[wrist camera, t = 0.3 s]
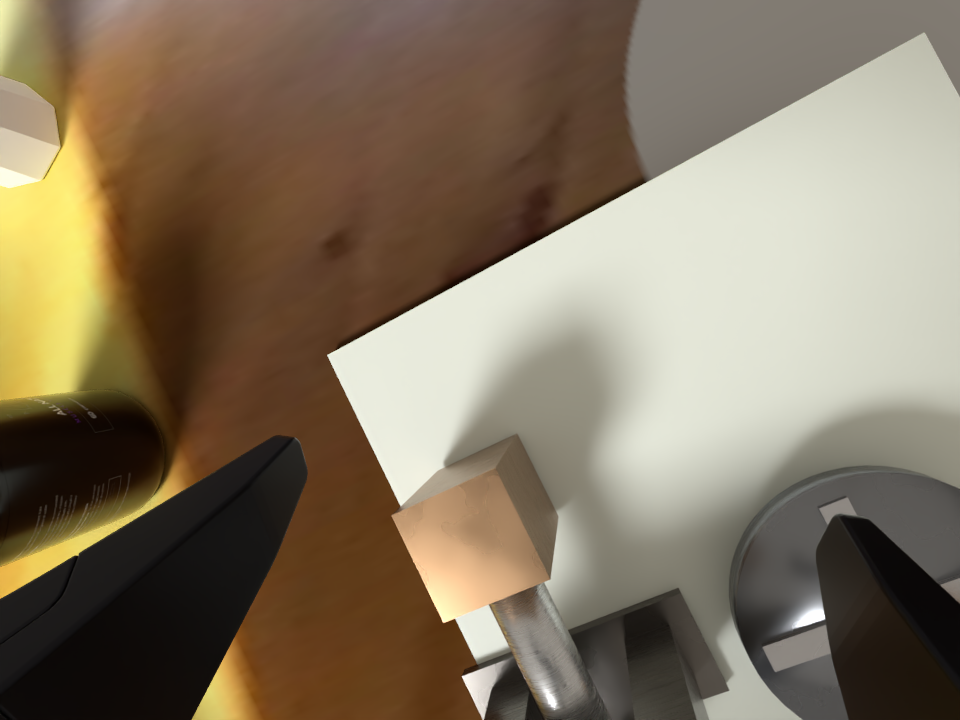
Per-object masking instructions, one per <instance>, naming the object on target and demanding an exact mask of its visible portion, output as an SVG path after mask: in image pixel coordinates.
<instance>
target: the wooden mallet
mask: <svg viewBox="0 0 960 720" xmlns="http://www.w3.org/2000/svg"><path fill="white" fill-rule="evenodd" d="M391 516H392V518H393V520H394V522H395V524H396V526H397V528H398V530H399V532H400V534H401V536H402V538H403V540H404V542H405V544H406V547H407V549H408V551H409V553H410V555H411V557H412V559H413V561H414V563H415V565H416V567H417V569H418V571H419V573H420V575H421V577H422V579H423V582H424V584H425V586H426V588H427V590H428V592H429V594H430V596H431V598H432V600H433V602H434V604H435V606H436V608H437V610H438V612H439V614H440V617H441V619H442V621H443V623H444V622H447V621H449V620H452V619H454V618H457V617H459V616H462V615H464V614H467V613H469V612H471V611H474V610H476V609H479V608H481V607H484V606H486V605H489V607H490V609H491V611H492V613H493V615H494V617H495V619H496V621H497V623H498V625H499V627H500V629H501V631H502V633H503V635H504V637H505V639H506V641H507V643H508V645H509V648H510V650H511V652H512V654H513V656H514V658H515V660H516V662H517V664H518V666H519V668H520V670H521V672H522V674H523V676H524V678H525V680H526V682H527V684H528V686H529V688H530V690H531V692H532V695H533V697H534V699H535V701H536V703H537V705H538V707H539V709H540V711H541V713H542V715H543V717H544V719H545V720H612V718H611V716H610V714H609V712H608V710H607V708H606V706H605V704H604V702H603V700H602V698H601V696H600V694H599V692H598V690H597V688H596V686H595V684H594V682H593V680H592V678H591V676H590V674H589V672H588V670H587V668H586V666H585V664H584V662H583V660H582V658H581V656H580V654H579V652H578V650H577V648H576V646H575V644H574V642H573V640H572V638H571V635H570V633H569V631H568V629H567V627H566V625H565V623H564V621H563V619H562V617H561V615H560V613H559V611H558V609H557V607H556V605H555V603H554V601H553V599H552V597H551V595H550V593H549V591H548V589H547V587H546V585H545V583H544V582H545V581H548V580H550V579H551V571H552V563H553V556H554V548H555V541H556V533H557V526H558V518H559V516H558V514H557V512H556V510H555V508H554V506H553V504H552V502H551V500H550V498H549V496H548V494H547V492H546V490H545V488H544V486H543V484H542V482H541V480H540V478H539V476H538V474H537V472H536V470H535V468H534V466H533V464H532V462H531V460H530V458H529V456H528V454H527V452H526V450H525V448H524V446H523V444H522V442H521V440H520V438H519V436H518V434H515V435H512V436H510V437H508V438H506V439H504V440H502V441H500V442H497V443H495V444H493V445H491V446H489V447H487V448H485V449H483V450H480V451H478V452H476V453H474V454H472V455H470V456H468V457H465V458H463V459H461V460H459V461H457V462H455V463H453V464H451V465H448V466H446V467H444V468H442V469H440V470H438V471H437V472H436V473H435V474H434V475H433V476H432V477H431V478H430V479H429V480H428V481H427V482H425V483H424V484H423V485H422V486H421V487H420V488H419V489H418V490H417V491H416V492H415V493H414V494H413V495H412V496H411V497H410V498H409V499H408V500H407V501H406V502H405V503H404V504H403V505H402V506H401V507H400V508H399V509H398V510H397V511H396V512H395V513H394V514H392V515H391Z"/></svg>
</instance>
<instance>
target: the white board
mask: <svg viewBox="0 0 960 720" xmlns="http://www.w3.org/2000/svg"><path fill="white" fill-rule="evenodd" d="M327 356H328V358H329V360H330V362H331V364H332V366H333V368H334V370H335V372H336V374H337V376H338V378H339V380H340V383H341V385H342V387H343V389H344V391H345V393H346V395H347V397H348V399H349V401H350V403H351V405H352V407H353V409H354V411H355V413H356V415H357V417H358V420H359V422H360V424H361V426H362V428H363V430H364V432H365V434H366V436H367V438H368V440H369V442H370V444H371V446H372V448H373V450H374V452H375V454H376V457H377V459H378V461H379V463H380V465H381V467H382V469H383V471H384V473H385V475H386V477H387V479H388V481H389V483H390V485H391V487H392V489H393V491H394V493H395V496H396V498H397V500H398V502H399V504H400V506H402V505H403V504H404V503H405V502H406V501H407V500H408V499H409V498H410V497H411V496H412V495H413V494H414V493H415V492H416V491H417V490H418V489H419V488H420V487H421V486H422V485H423V484H424V483H425V482H427V481H428V480H429V479H430V478H431V477H432V476H433V475H434V474H435V473H436V472H437V471H438V470H440V469H442V468H444V467H446V466H448V465H451V464H453V463H455V462H457V461H459V460H461V459H463V458H465V457H468V456H470V455H472V454H474V453H476V452H478V451H480V450H483V449H485V448H487V447H489V446H491V445H493V444H495V443H497V442H500V441H502V440H504V439H506V438H508V437H510V436H512V435H515V434H518V436H519V438H520V440H521V442H522V444H523V446H524V448H525V450H526V452H527V454H528V456H529V458H530V460H531V462H532V464H533V466H534V468H535V470H536V472H537V474H538V476H539V478H540V480H541V482H542V484H543V486H544V488H545V490H546V492H547V494H548V496H549V498H550V500H551V502H552V504H553V506H554V508H555V510H556V512H557V514H558V516H559V518H558V526H557V533H556V541H555V548H554V556H553V563H552V571H551V579H550V580H548V581H545V582H544V583H545V585H546V587H547V589H548V591H549V593H550V595H551V597H552V599H553V601H554V603H555V605H556V607H557V609H558V611H559V613H560V615H561V617H562V619H563V621H564V623H565V625H566V627H567V629H568V630H569V629H572V628H574V627H577V626H580V625H582V624H585V623H587V622H590V621H593V620H595V619H598V618H600V617H603V616H606V615H608V614H611V613H614V612H616V611H619V610H621V609H624V608H627V607H629V606H632V605H634V604H637V603H640V602H642V601H645V600H648V599H650V598H653V597H655V596H658V595H661V594H663V593H666V592H668V591H671V590H674V589H676V588H679V590H680V592H681V594H682V596H683V598H684V600H685V602H686V603H687V605H688V607H689V609H690V611H691V613H692V615H693V617H694V619H695V621H696V623H697V625H698V627H699V629H700V631H701V633H702V635H703V637H704V639H705V641H706V643H707V645H708V647H709V649H710V651H711V653H712V655H713V657H714V659H715V661H716V663H717V665H718V667H719V669H720V671H721V673H722V675H723V677H724V679H725V681H726V683H727V685H728V688H729V690H730V691H727V692H724V693H721V694H718V695H715V696H712V697H709V698H707V699H704V700H703V702H704V705H705V708H706V711H707V714H708V718H709V720H803V719H801V718H800V717H798V716H797V715H796V714H795V713H793V712H792V711H791V710H790V709H788V708H787V707H786V706H785V705H784V704H783V703H782V702H781V701H780V700H779V699H778V698H777V697H776V696H775V695H774V694H773V693H772V692H771V691H770V689H769V688H768V687H767V686H766V684H765V683H764V682H763V680H762V679H761V678H760V676H759V674H758V673H757V671H756V669H755V668H754V666H753V664H752V663H751V661H750V659H749V657H748V655H747V653H746V651H745V649H744V647H743V645H742V643H741V640H740V638H739V636H738V633H737V631H736V629H735V625H734V622H733V618H732V614H731V610H730V602H729V575H730V569H731V563H732V560H733V556H734V553H735V550H736V547H737V545H738V543H739V541H740V539H741V537H742V535H743V532H744V531H745V530H746V528H747V527H748V525H749V524H750V522H751V521H752V519H753V518H754V517H755V516H756V514H757V513H758V512H759V511H760V510H761V509H762V508H763V507H764V506H765V505H766V504H767V503H768V502H769V501H770V500H772V499H773V498H774V497H775V496H776V495H778V494H779V493H781V492H782V491H784V490H785V489H787V488H788V487H790V486H791V485H793V484H795V483H797V482H799V481H802V480H804V479H806V478H808V477H810V476H813V475H816V474H819V473H822V472H825V471H829V470H834V469H839V468H843V467H852V466H864V465H869V466H888V467H895V468H902V469H907V470H911V471H914V472H918V473H922V474H925V475H928V476H930V477H933V478H935V479H938V480H940V481H943V482H945V483H948V484H950V485H952V486H955V487H957V488H959V489H960V96H959V95H958V93H957V91H956V89H955V87H954V85H953V84H952V82H951V80H950V78H949V76H948V74H947V72H946V71H945V69H944V67H943V65H942V63H941V61H940V60H939V58H938V56H937V54H936V53H935V50H934V48H933V47H932V45H931V43H930V41H929V39H928V37H927V35H926V34H925V32H924V33H922V34H920V35H918V36H916V37H915V38H913V39H911V40H909V41H907V42H906V43H904V44H902V45H900V46H898V47H896V48H894V49H892V50H891V51H889V52H887V53H885V54H883V55H881V56H879V57H878V58H876V59H874V60H872V61H870V62H868V63H866V64H865V65H863V66H861V67H859V68H857V69H856V70H854V71H852V72H850V73H848V74H846V75H844V76H842V77H841V78H839V79H837V80H835V81H833V82H831V83H830V84H828V85H826V86H824V87H822V88H820V89H818V90H817V91H815V92H813V93H811V94H809V95H807V96H806V97H804V98H802V99H800V100H798V101H796V102H794V103H793V104H791V105H789V106H787V107H785V108H783V109H782V110H780V111H778V112H776V113H774V114H772V115H770V116H769V117H767V118H765V119H763V120H761V121H759V122H757V123H756V124H754V125H752V126H750V127H748V128H746V129H745V130H743V131H741V132H739V133H737V134H735V135H733V136H732V137H730V138H728V139H726V140H724V141H722V142H720V143H719V144H717V145H715V146H713V147H711V148H709V149H708V150H706V151H704V152H702V153H700V154H698V155H696V156H695V157H693V158H691V159H689V160H687V161H685V162H683V163H682V164H680V165H678V166H676V167H674V168H673V169H671V170H669V171H667V172H665V173H663V174H661V175H660V176H658V177H656V178H654V179H652V180H650V181H648V182H646V183H645V184H643V185H641V186H639V187H637V188H635V189H634V190H632V191H630V192H628V193H626V194H624V195H622V196H621V197H619V198H617V199H615V200H613V201H611V202H610V203H608V204H606V205H604V206H602V207H600V208H598V209H597V210H595V211H593V212H591V213H589V214H587V215H585V216H584V217H582V218H580V219H578V220H576V221H574V222H573V223H571V224H569V225H567V226H565V227H563V228H561V229H560V230H558V231H556V232H554V233H552V234H550V235H549V236H547V237H545V238H543V239H541V240H539V241H537V242H536V243H534V244H532V245H530V246H528V247H526V248H524V249H523V250H521V251H519V252H517V253H515V254H513V255H512V256H510V257H508V258H506V259H504V260H502V261H500V262H499V263H497V264H495V265H493V266H491V267H489V268H488V269H486V270H484V271H482V272H480V273H478V274H476V275H475V276H473V277H471V278H469V279H467V280H465V281H463V282H462V283H460V284H458V285H456V286H454V287H452V288H451V289H449V290H447V291H445V292H443V293H441V294H439V295H438V296H436V297H434V298H432V299H430V300H428V301H427V302H425V303H423V304H421V305H419V306H417V307H415V308H414V309H412V310H410V311H408V312H406V313H404V314H402V315H401V316H399V317H397V318H395V319H393V320H391V321H390V322H388V323H386V324H384V325H382V326H380V327H378V328H377V329H375V330H373V331H371V332H369V333H367V334H366V335H364V336H362V337H360V338H358V339H356V340H354V341H353V342H351V343H349V344H347V345H345V346H343V347H341V348H340V349H338V350H336V351H334V352H332V353H330V354H329V355H327ZM455 619H456V621H457V623H458V625H459V627H460V629H461V631H462V633H463V635H464V637H465V639H466V641H467V644H468V646H469V648H470V650H471V652H472V654H473V656H474V658H475V660H476V662H477V664H480V663H483V662H486V661H488V660H491V659H493V658H496V657H499V656H501V655H504V654H506V653H509V652H511V650H510V648H509V645H508V643H507V641H506V639H505V637H504V635H503V633H502V631H501V629H500V627H499V625H498V623H497V621H496V619H495V617H494V615H493V613H492V611H491V609H490V607H489V605H486V606H484V607H481V608H479V609H476V610H474V611H471V612H469V613H467V614H464V615H462V616H459V617H457V618H455Z"/></svg>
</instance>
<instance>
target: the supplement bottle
mask: <svg viewBox="0 0 960 720" xmlns="http://www.w3.org/2000/svg"><path fill="white" fill-rule="evenodd" d="M164 463H165V453H164V444H163V440H162V437H161V433H160V431H159V428H158V426H157V424H156V422H155V421H154V419H153V418H152V416H151V415H150V413H149V412H148V411H147V410H146V409H145V408H144V407H143V406H142V405H141V404H140V403H139V402H137V401H136V400H134V399H133V398H131V397H129V396H127V395H125V394H123V393H120V392H117V391H112V390H105V389H104V390H87V391H77V392H68V393H60V394H51V395H43V396H34V397H26V398H18V399H9V400H1V401H0V567H2V566H4V565H7V564H9V563H12V562H14V561H17V560H19V559H22V558H24V557H27V556H29V555H32V554H34V553H37V552H39V551H42V550H44V549H47V548H49V547H52V546H54V545H57V544H59V543H62V542H64V541H67V540H69V539H72V538H74V537H77V536H79V535H82V534H84V533H87V532H89V531H92V530H95V529H97V528H100V527H102V526H105V525H107V524H110V523H112V522H114V521H117V520H119V519H121V518H124V517H126V516H128V515H130V514H132V513H134V512H136V511H137V510H139V509H140V508H142V507H143V506H144V505H145V504H146V503H147V502H148V501H149V500H150V499H151V497H152V496H153V495H154V493H155V492H156V490H157V488H158V486H159V483H160V481H161V478H162V475H163V470H164Z"/></svg>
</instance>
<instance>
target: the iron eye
mask: <svg viewBox="0 0 960 720" xmlns="http://www.w3.org/2000/svg"><path fill="white" fill-rule="evenodd" d="M568 631H569V633H570V635H571V638H572V640H573V642H574V644H575V646H576V648H577V650H578V652H579V654H580V656H581V658H582V660H583V662H584V664H585V666H586V668H587V670H588V672H589V674H590V676H591V678H592V680H593V682H594V684H595V686H596V688H597V690H598V692H599V694H600V696H601V698H602V700H603V702H604V704H605V706H606V708H607V710H608V712H609V714H610V716H611V718H612V720H709V718H708V714H707V711H706V708H705V705H704V702H703V700H704V699H707V698H709V697H712V696H715V695H718V694H721V693H724V692H727V691H730V690H729V688H728V685H727V683H726V681H725V679H724V677H723V675H722V673H721V671H720V669H719V667H718V665H717V663H716V661H715V659H714V657H713V655H712V653H711V651H710V649H709V647H708V645H707V643H706V641H705V639H704V637H703V635H702V633H701V631H700V629H699V627H698V625H697V623H696V621H695V619H694V617H693V615H692V613H691V611H690V609H689V607H688V605H687V603H686V602H685V600H684V598H683V596H682V594H681V592H680V590H679V588H676V589H674V590H671V591H668V592H666V593H663V594H661V595H658V596H655V597H653V598H650V599H648V600H645V601H642V602H640V603H637V604H634V605H632V606H629V607H627V608H624V609H621V610H619V611H616V612H614V613H611V614H608V615H606V616H603V617H600V618H598V619H595V620H593V621H590V622H587V623H585V624H582V625H580V626H577V627H574V628H572V629H569V630H568ZM462 677H463V680H464V682H465V684H466V686H467V688H468V690H469V692H470V694H471V696H472V698H473V700H474V702H475V704H476V706H477V708H478V710H479V713H480V715H481V717H482V719H483V720H545V719H544V717H543V715H542V713H541V711H540V709H539V707H538V705H537V703H536V701H535V699H534V697H533V695H532V692H531V690H530V688H529V686H528V684H527V682H526V680H525V678H524V676H523V674H522V672H521V670H520V668H519V666H518V664H517V662H516V660H515V658H514V656H513V654H512V652H509V653H506V654H504V655H501V656H499V657H496V658H493V659H491V660H488V661H486V662H483V663H480V664H478V665H475V666H472V667H470V668H467V669H465V670H464V672H463V675H462Z"/></svg>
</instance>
